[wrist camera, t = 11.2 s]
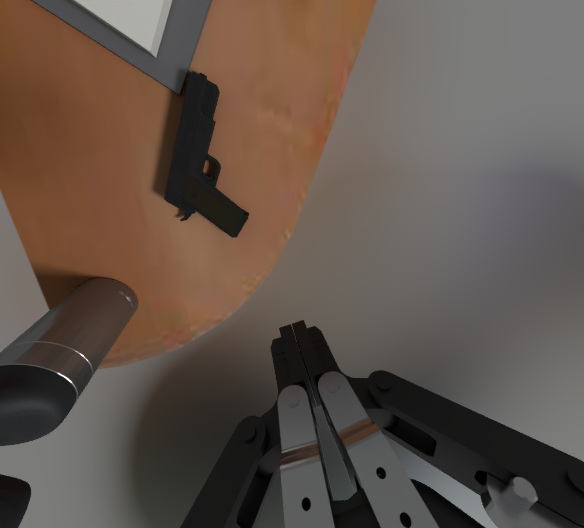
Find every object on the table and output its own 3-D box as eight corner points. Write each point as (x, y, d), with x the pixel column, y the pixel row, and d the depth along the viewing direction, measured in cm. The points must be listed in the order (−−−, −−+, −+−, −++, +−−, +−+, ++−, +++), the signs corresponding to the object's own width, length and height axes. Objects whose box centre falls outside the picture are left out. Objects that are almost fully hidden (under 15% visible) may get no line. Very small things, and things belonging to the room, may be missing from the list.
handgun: (284, 117, 30) (191, 65, 26) (239, 242, 37) (160, 217, 33) (281, 120, 33) (195, 73, 28) (239, 236, 39) (165, 212, 35)
